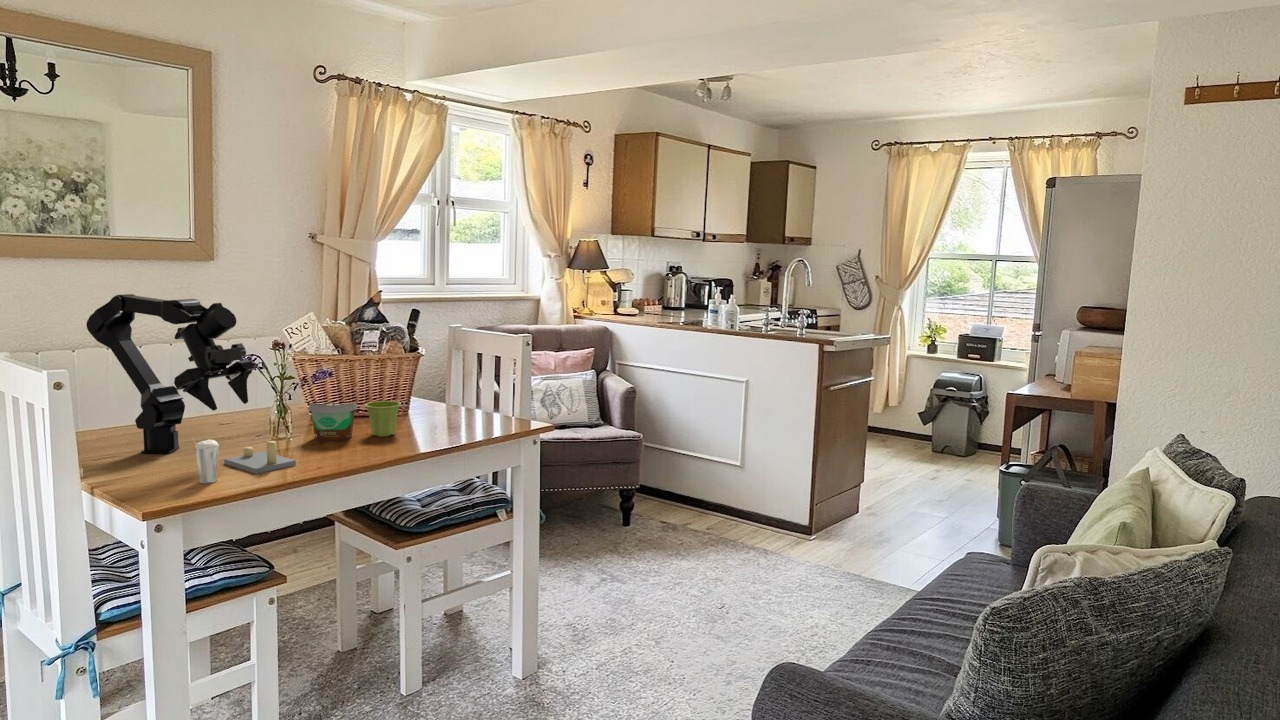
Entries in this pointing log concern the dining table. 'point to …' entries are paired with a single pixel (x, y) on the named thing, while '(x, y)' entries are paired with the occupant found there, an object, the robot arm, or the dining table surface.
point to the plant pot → (383, 417)
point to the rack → (260, 460)
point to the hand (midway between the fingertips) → (231, 406)
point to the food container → (333, 421)
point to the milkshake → (207, 460)
